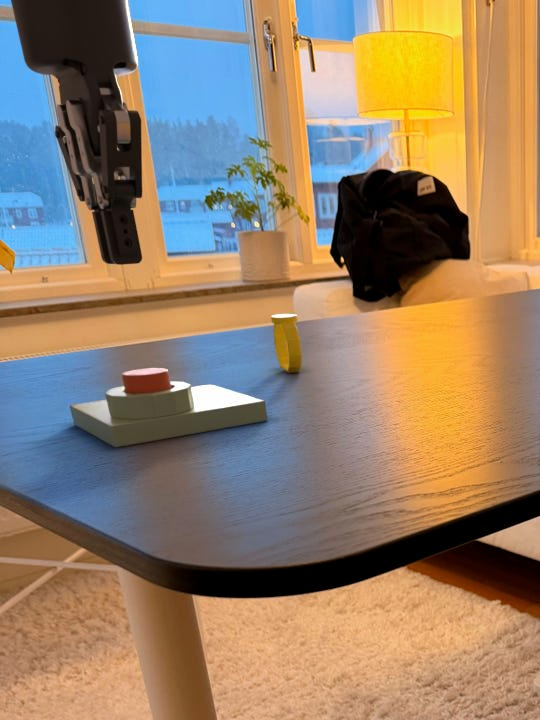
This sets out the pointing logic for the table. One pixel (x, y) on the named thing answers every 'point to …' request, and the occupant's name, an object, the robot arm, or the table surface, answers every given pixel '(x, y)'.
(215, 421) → the console
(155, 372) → the button
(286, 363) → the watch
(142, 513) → the table surface
